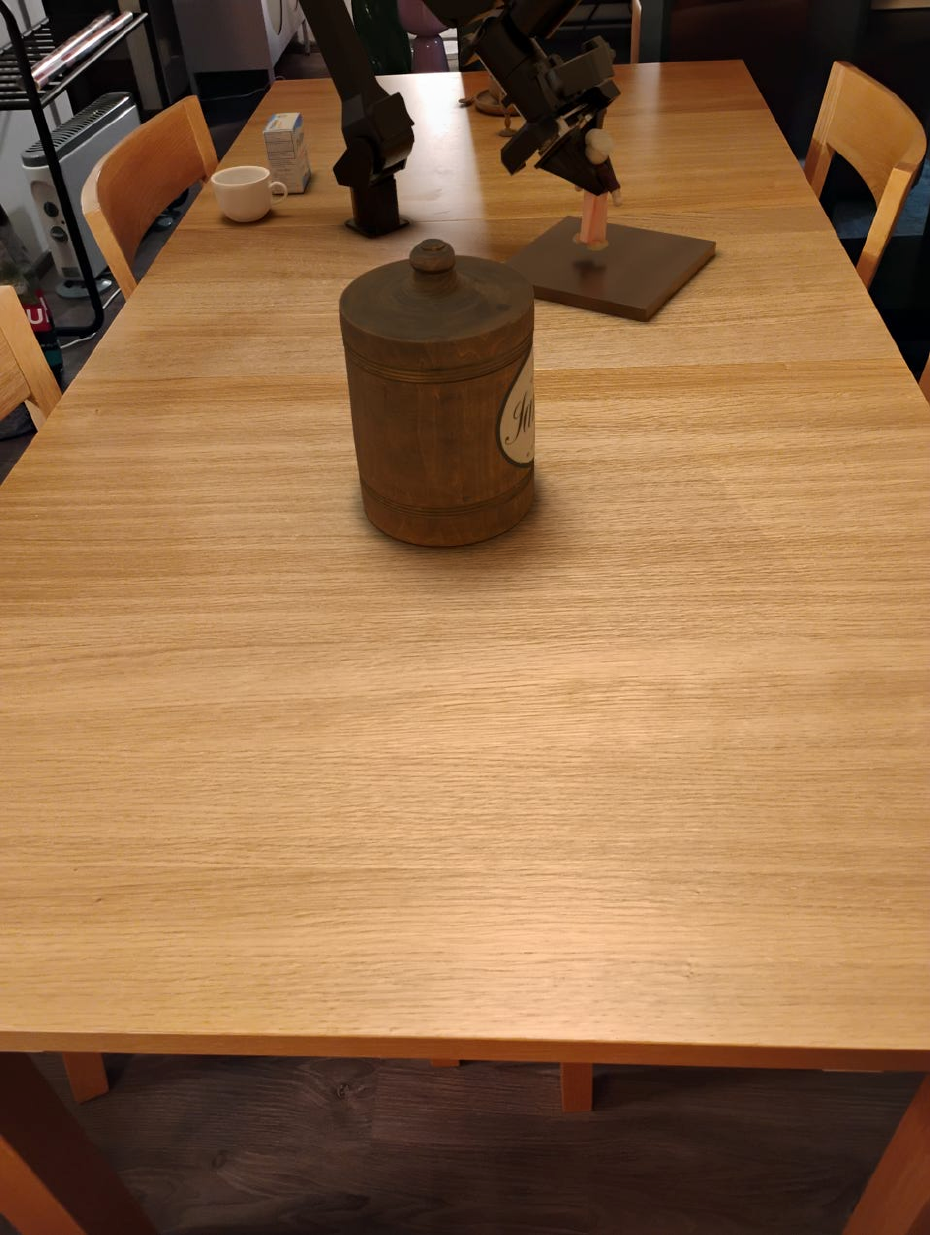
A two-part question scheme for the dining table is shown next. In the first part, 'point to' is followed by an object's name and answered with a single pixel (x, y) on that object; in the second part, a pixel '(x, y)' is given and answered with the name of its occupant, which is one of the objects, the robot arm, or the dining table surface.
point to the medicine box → (287, 152)
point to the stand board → (611, 268)
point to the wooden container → (442, 394)
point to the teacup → (245, 192)
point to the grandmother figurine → (597, 205)
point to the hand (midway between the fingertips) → (607, 189)
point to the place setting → (494, 104)
